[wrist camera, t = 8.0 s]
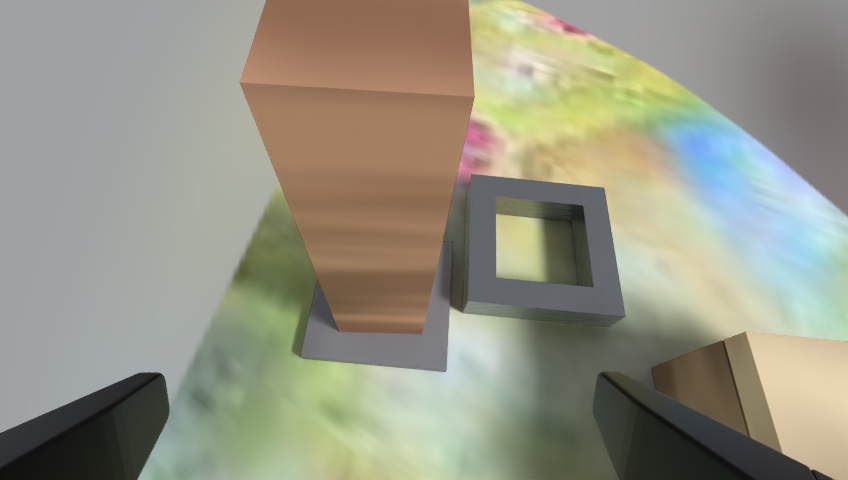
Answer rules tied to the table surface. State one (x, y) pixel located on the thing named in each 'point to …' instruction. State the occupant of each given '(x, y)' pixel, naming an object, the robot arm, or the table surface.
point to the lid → (795, 396)
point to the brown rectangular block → (366, 142)
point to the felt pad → (384, 347)
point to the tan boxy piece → (704, 385)
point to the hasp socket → (541, 300)
